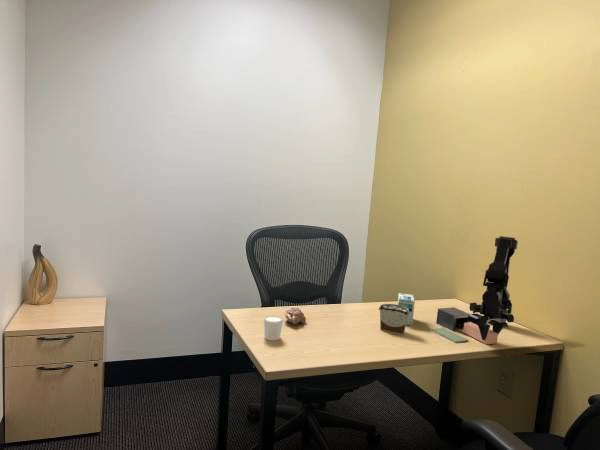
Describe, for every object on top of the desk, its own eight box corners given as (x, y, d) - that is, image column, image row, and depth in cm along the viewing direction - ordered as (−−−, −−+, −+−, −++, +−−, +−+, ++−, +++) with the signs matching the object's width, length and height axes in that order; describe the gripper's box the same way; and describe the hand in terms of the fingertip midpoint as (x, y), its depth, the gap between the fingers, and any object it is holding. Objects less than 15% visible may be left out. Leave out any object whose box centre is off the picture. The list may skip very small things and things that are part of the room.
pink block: (472, 331, 191) (474, 322, 191) (496, 343, 180) (498, 333, 179) (463, 332, 190) (464, 322, 189) (486, 344, 178) (487, 334, 177)
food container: (410, 331, 188) (413, 307, 187) (407, 335, 182) (409, 310, 181) (380, 324, 193) (382, 301, 192) (376, 329, 187) (379, 305, 186)
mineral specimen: (313, 322, 185) (306, 309, 183) (297, 333, 183) (290, 320, 180) (300, 312, 196) (293, 300, 193) (285, 323, 193) (278, 310, 191)
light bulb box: (412, 325, 195) (415, 300, 194) (396, 323, 196) (398, 298, 195) (411, 318, 205) (414, 294, 204) (396, 316, 207) (398, 292, 205)
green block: (443, 329, 193) (443, 327, 193) (468, 341, 181) (468, 339, 181) (431, 330, 191) (431, 328, 191) (455, 342, 178) (455, 341, 178)
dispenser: (452, 321, 204) (453, 307, 204) (469, 329, 195) (470, 314, 195) (436, 323, 201) (437, 308, 200) (452, 331, 192) (454, 315, 191)
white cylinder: (267, 341, 165) (268, 322, 164) (260, 335, 171) (261, 316, 170) (284, 339, 168) (286, 321, 168) (276, 333, 174) (278, 315, 174)
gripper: (494, 293, 189) (489, 330, 191) (459, 295, 182) (455, 334, 184) (517, 301, 179) (512, 340, 181) (481, 304, 172) (476, 344, 174)
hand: (488, 339), depth 180 cm, fingers closed on pink block, 5 cm apart
